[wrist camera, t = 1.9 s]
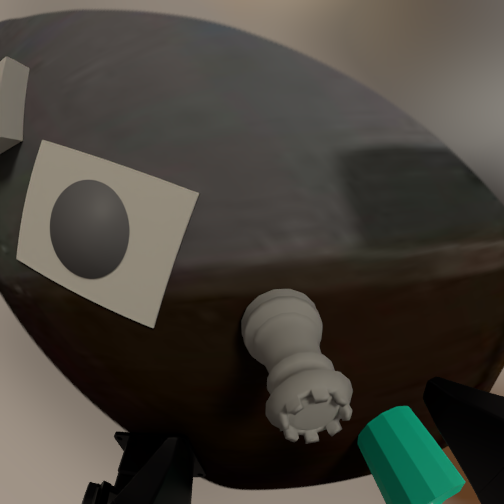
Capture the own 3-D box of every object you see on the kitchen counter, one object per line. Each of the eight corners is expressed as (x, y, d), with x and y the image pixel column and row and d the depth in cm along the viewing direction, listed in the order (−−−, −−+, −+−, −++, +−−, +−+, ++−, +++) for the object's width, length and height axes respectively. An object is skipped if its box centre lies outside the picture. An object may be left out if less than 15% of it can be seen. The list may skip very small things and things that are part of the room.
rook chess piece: (305, 356, 16) (348, 453, 8) (234, 349, 16) (239, 457, 8) (324, 291, 15) (397, 369, 7) (248, 279, 15) (266, 367, 7)
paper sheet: (199, 193, 14) (198, 193, 13) (154, 326, 15) (152, 329, 14) (45, 140, 12) (41, 139, 12) (19, 257, 13) (15, 259, 13)
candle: (362, 455, 19) (404, 542, 8) (350, 429, 18) (403, 537, 6) (414, 426, 19) (468, 502, 8) (410, 394, 18) (482, 485, 6)
